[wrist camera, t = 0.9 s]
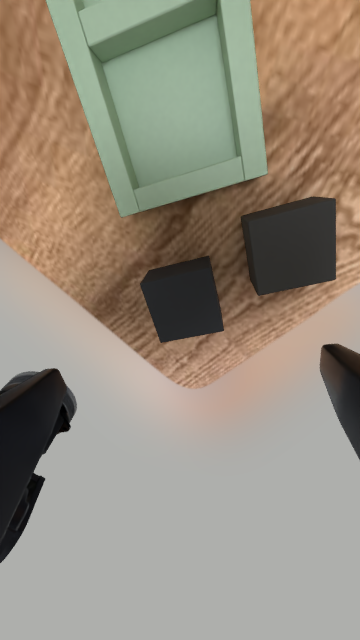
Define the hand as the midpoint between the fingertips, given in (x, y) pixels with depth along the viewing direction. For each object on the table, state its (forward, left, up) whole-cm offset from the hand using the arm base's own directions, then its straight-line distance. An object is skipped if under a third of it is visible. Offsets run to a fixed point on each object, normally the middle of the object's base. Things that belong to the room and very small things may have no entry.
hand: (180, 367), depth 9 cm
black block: (+6, +1, -11) cm, 13 cm away
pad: (-1, -1, -11) cm, 11 cm away
